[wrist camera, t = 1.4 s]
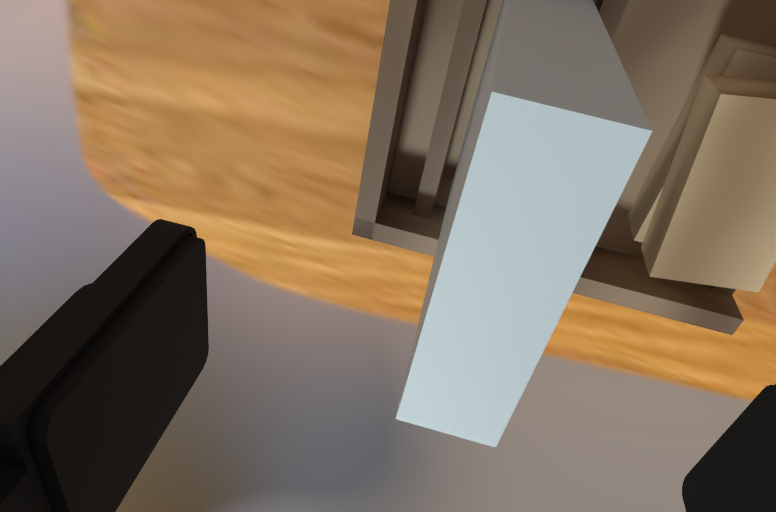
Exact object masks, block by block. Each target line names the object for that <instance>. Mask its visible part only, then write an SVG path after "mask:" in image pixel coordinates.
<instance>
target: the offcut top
mask: <svg viewBox="0 0 776 512" xmlns="http://www.w3.org/2000/svg"><path fill="white" fill-rule="evenodd" d="M641 249H642V253H643V256H644V260H645V263H646V267H647V270H648V274H649V277H656V278H662V279H669V280H676V281H683V282H690V283H697V284H704V285H711V286H718V287H725V288H732V289H739V290H746V291H753V292H759V291H760V289H761V288H762V286H763V284H764V282H765V280H766V278H767V277H768V275H769V273H770V271H771V269H772V267H773V266H774V264H775V262H776V81H774V80H763V79H753V78H742V77H731V76H720V75H709V74H704V77H703V79H702V82H701V85H700V88H699V90H698V93H697V96H696V98H695V101H694V104H693V107H692V109H691V112H690V115H689V118H688V120H687V123H686V126H685V129H684V131H683V134H682V137H681V139H680V142H679V145H678V148H677V150H676V153H675V156H674V159H673V161H672V164H671V167H670V170H669V172H668V175H667V178H666V180H665V183H664V186H663V189H662V191H661V194H660V197H659V200H658V202H657V205H656V208H655V211H654V213H653V216H652V219H651V221H650V224H649V227H648V230H647V232H646V235H645V238H644V241H643V243H642V246H641Z"/></svg>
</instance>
